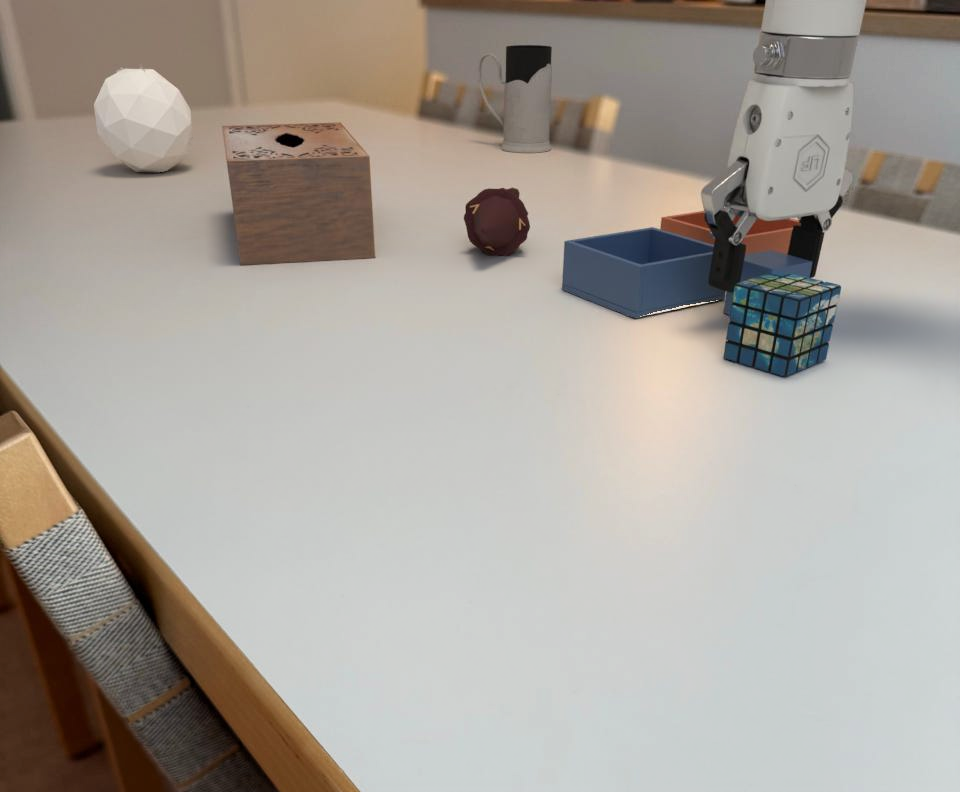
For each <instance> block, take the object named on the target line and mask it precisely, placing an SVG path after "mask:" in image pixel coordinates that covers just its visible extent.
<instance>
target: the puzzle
mask: <svg viewBox="0 0 960 792" xmlns="http://www.w3.org/2000/svg"><path fill="white" fill-rule="evenodd" d="M841 291H842V286H841V284H837V283H833V282H829V281H823V280H821V279H815V278H808V279H807V278H806V277H803V276H799V275H794V274H793V275H791V274H790V273H786V272H781V271H775V272H772V273H769V274H765V275H762V276H759V277H756V278H752V279H749V280H747V281H743V282H740V283H737V284H735V285H734V291H733V298H732V303H733V304H731V311H730V315H729V316H728V317H729V318H728V321H729V322H728V326H727V331H726V338H725V339H726V341H725V344H724V351H723V359H725V358H726V359H729V360H732V361H731V362H733V361H735V362H734V363H736V362H737V363H739V364H740V365H743V366H747V367H749V368H755V369H756V370H759V371H763V372H765V373H771V374H773V375H776V376H778V377H783V378H786V377H789V376H791V375H793V374H795V373H798V372H800V371H803V370H804V369H808V368H810V367H812V366H815V365H817V364H819V363H821V362H824V361H825V360H826V359H827V356H828V352H829V348H830V343H829V342H830V341H831V337H832V333H833V328H834V325H833V324H834V322H835V319H836V315H837V310H838V303H839V300H840V296H841ZM726 359H725V360H726ZM729 360H728V361H729Z"/></svg>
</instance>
